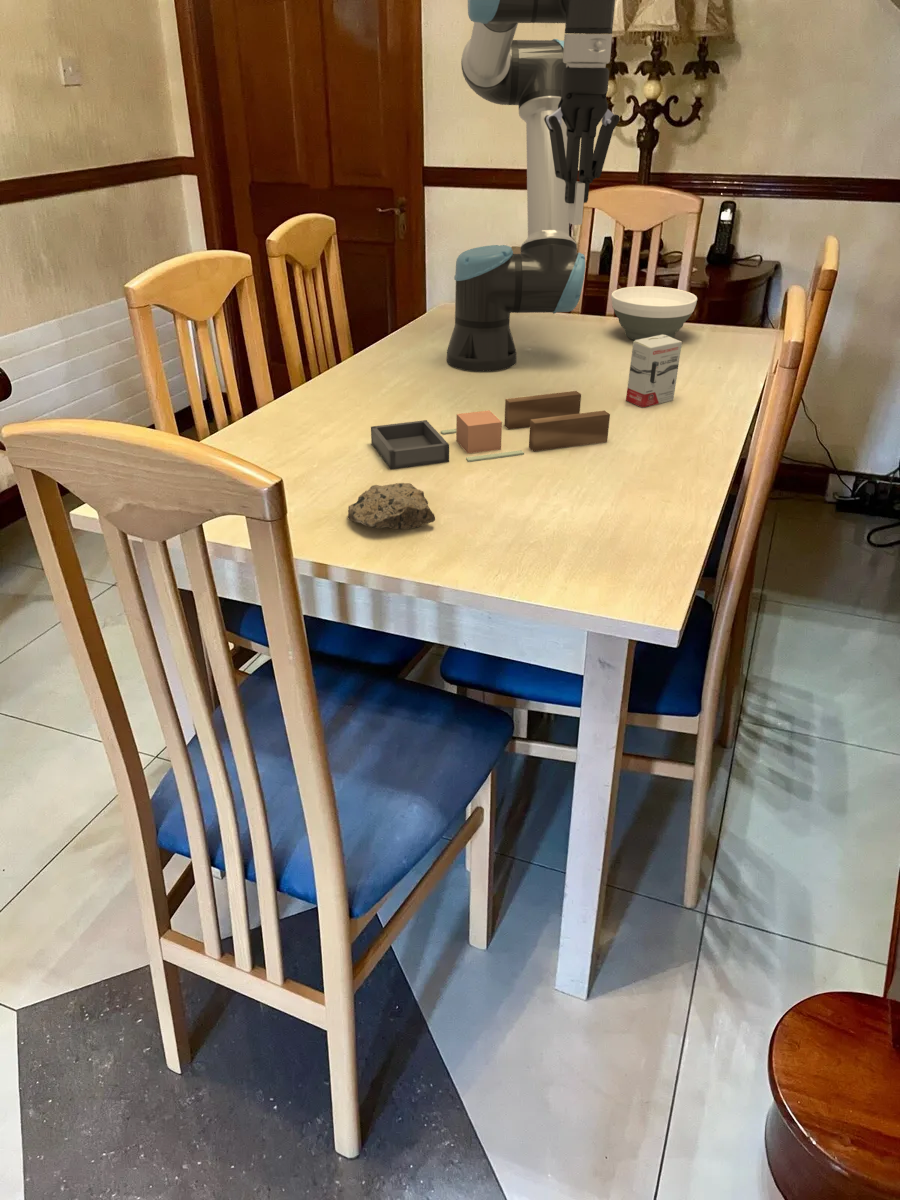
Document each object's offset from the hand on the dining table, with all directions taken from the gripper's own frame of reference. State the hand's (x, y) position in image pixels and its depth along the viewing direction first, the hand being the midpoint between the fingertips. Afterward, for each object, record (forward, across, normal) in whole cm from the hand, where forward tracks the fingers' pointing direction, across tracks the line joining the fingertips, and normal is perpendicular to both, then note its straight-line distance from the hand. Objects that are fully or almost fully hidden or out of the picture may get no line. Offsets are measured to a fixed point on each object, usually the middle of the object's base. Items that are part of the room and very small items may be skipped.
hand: (574, 223), depth 157 cm
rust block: (+33, -23, -15) cm, 42 cm away
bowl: (+33, +40, +36) cm, 63 cm away
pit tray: (+32, -35, -14) cm, 50 cm away
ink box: (+33, +17, -4) cm, 37 cm away
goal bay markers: (+32, -22, -14) cm, 42 cm away
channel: (+32, -8, -14) cm, 36 cm away
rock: (+33, -45, -37) cm, 67 cm away
